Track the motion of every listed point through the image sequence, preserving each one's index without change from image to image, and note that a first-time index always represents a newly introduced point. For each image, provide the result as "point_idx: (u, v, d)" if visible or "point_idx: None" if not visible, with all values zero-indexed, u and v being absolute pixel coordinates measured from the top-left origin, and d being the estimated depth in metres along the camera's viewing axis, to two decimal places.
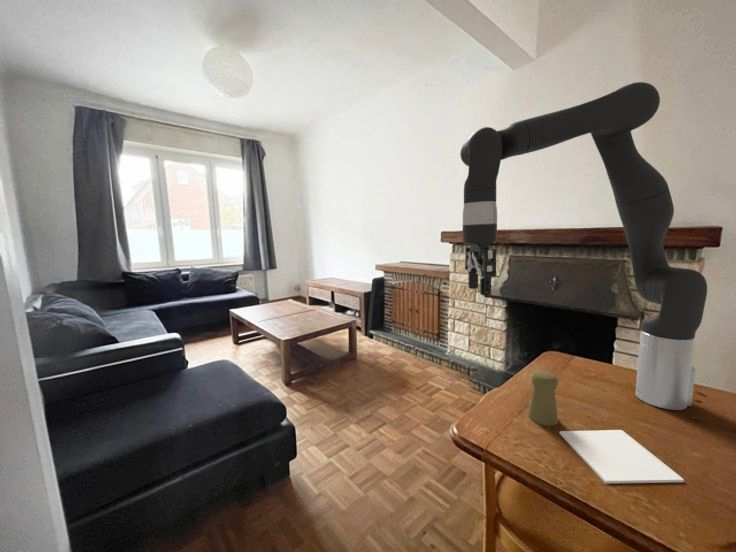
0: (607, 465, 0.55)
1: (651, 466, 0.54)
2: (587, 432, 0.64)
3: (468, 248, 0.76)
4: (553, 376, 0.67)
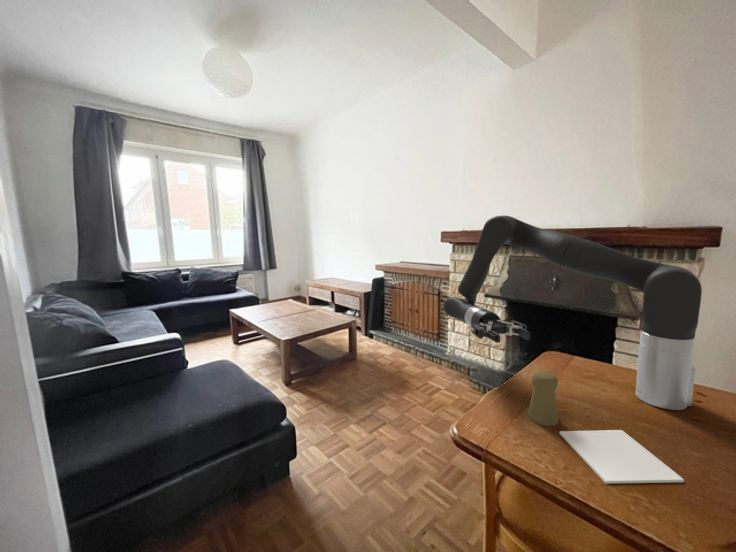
0: (607, 465, 0.55)
1: (651, 466, 0.54)
2: (587, 432, 0.64)
3: None
4: (553, 376, 0.67)
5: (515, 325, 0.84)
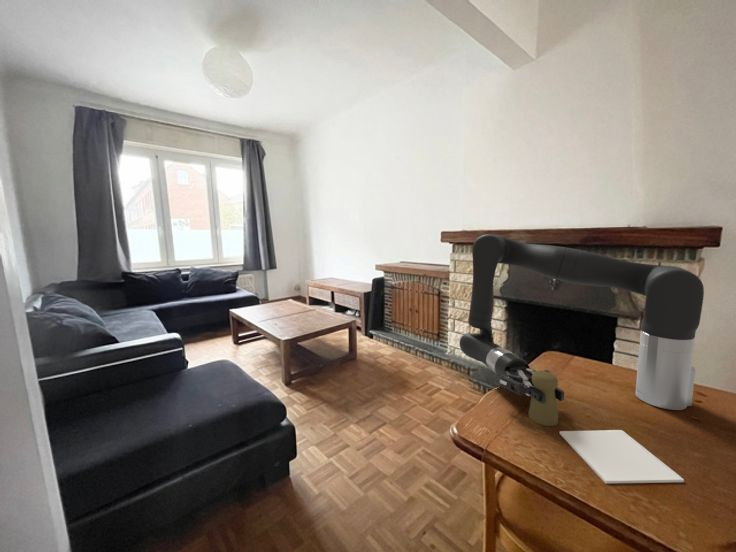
0: (607, 465, 0.55)
1: (651, 466, 0.54)
2: (587, 432, 0.64)
3: None
4: (553, 376, 0.67)
5: None
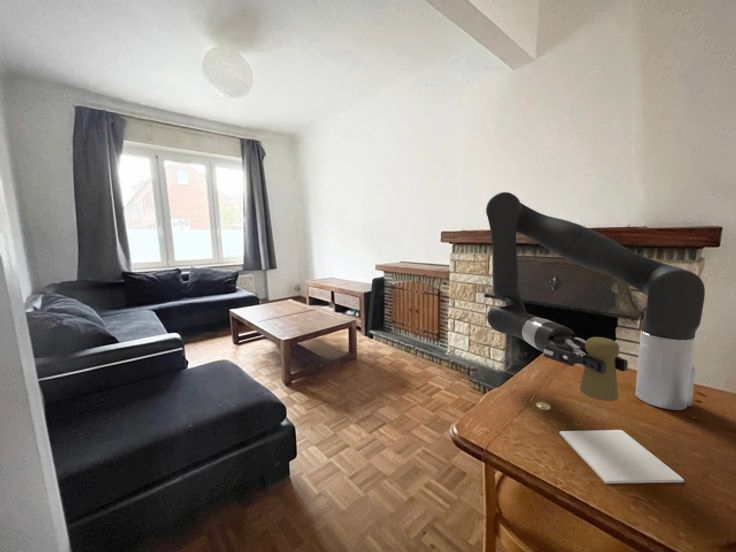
0: (607, 465, 0.55)
1: (651, 466, 0.54)
2: (587, 432, 0.64)
3: None
4: (614, 342, 0.56)
5: None
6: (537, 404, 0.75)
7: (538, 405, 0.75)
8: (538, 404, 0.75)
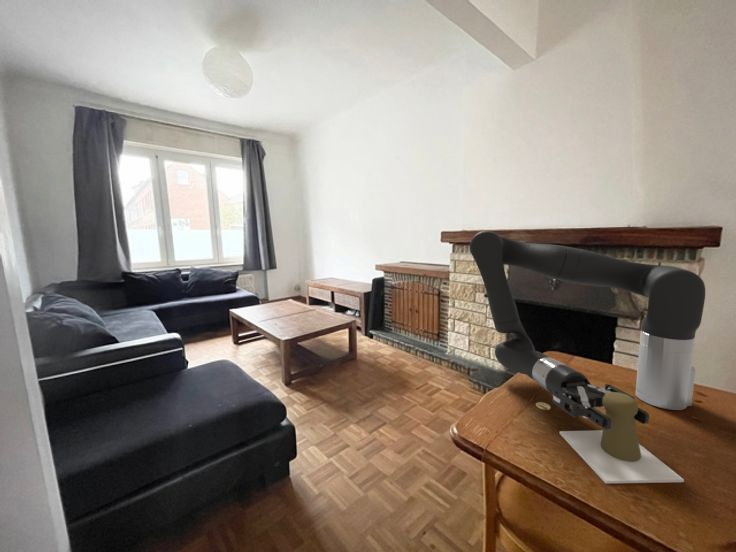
0: (607, 465, 0.55)
1: (651, 466, 0.54)
2: (587, 432, 0.64)
3: None
4: (631, 399, 0.56)
5: None
6: (537, 404, 0.75)
7: (538, 405, 0.74)
8: (538, 404, 0.75)
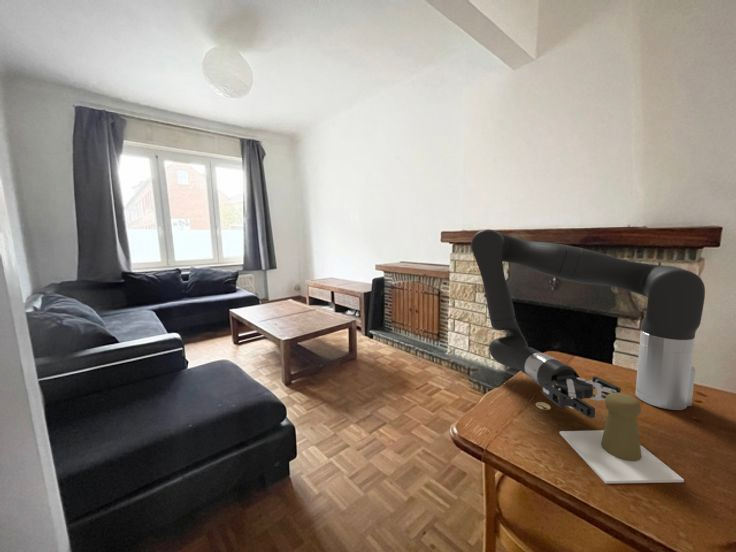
0: (607, 465, 0.55)
1: (651, 466, 0.54)
2: (587, 432, 0.64)
3: None
4: (634, 400, 0.56)
5: (605, 387, 0.64)
6: (537, 404, 0.75)
7: (538, 405, 0.74)
8: (538, 404, 0.75)
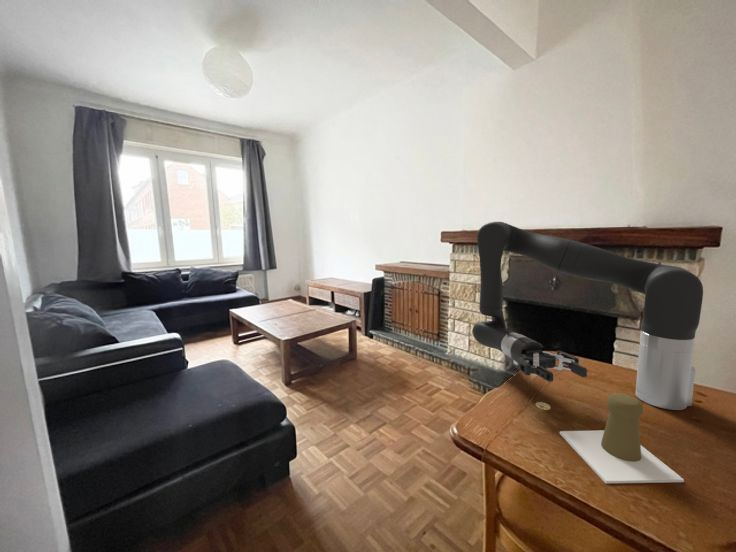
0: (607, 465, 0.55)
1: (651, 466, 0.54)
2: (587, 432, 0.64)
3: None
4: (637, 401, 0.56)
5: (565, 358, 0.74)
6: (537, 404, 0.75)
7: (538, 405, 0.74)
8: (538, 404, 0.75)
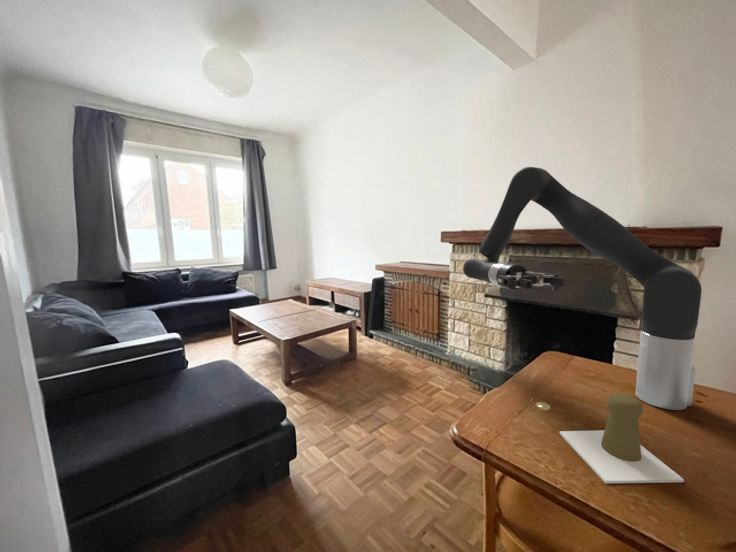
0: (607, 465, 0.55)
1: (651, 466, 0.54)
2: (587, 432, 0.64)
3: (539, 279, 0.84)
4: (637, 401, 0.56)
5: (546, 275, 0.79)
6: (537, 405, 0.75)
7: (539, 406, 0.74)
8: (538, 404, 0.75)
